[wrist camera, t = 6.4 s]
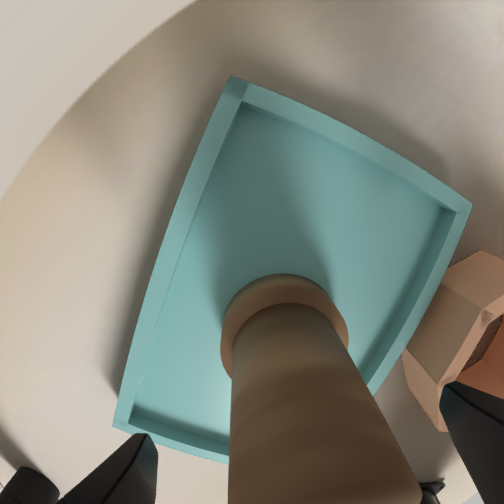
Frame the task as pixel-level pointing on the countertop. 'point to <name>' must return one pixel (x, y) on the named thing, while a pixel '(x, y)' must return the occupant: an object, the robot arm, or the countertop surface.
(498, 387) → the mortar
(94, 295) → the countertop surface
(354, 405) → the pestle
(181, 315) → the tray
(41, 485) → the drinking cup
